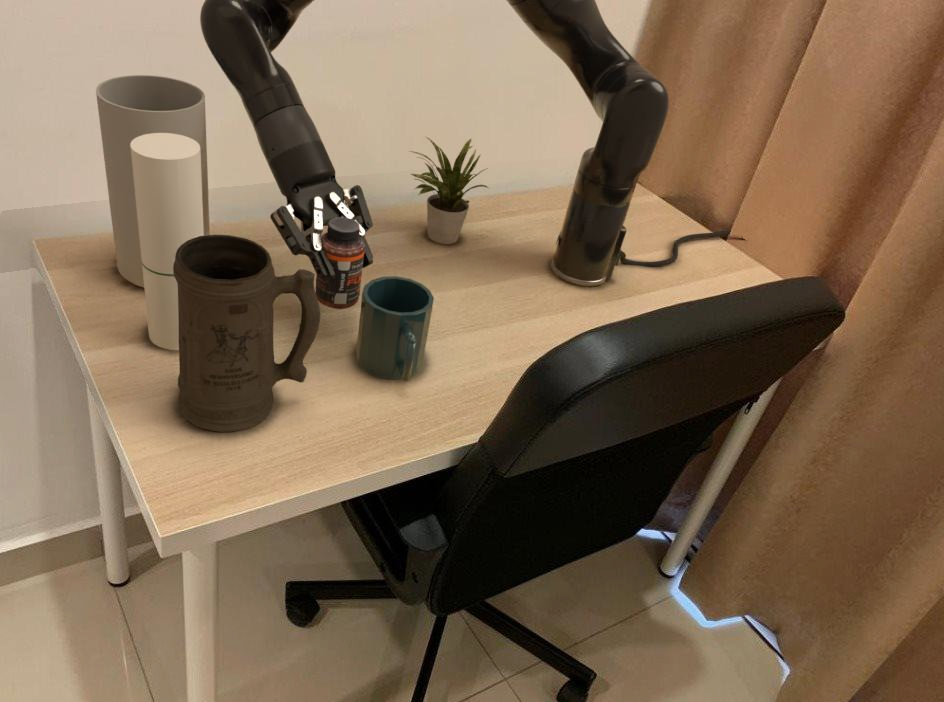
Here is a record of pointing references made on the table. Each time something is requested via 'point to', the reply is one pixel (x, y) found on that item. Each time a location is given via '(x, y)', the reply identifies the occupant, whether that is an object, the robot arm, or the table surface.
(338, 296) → the supplement bottle
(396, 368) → the mug
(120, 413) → the table surface
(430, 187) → the house plant
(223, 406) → the beer stein
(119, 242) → the cylinder vase
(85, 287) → the table surface
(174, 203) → the cylindrical container
